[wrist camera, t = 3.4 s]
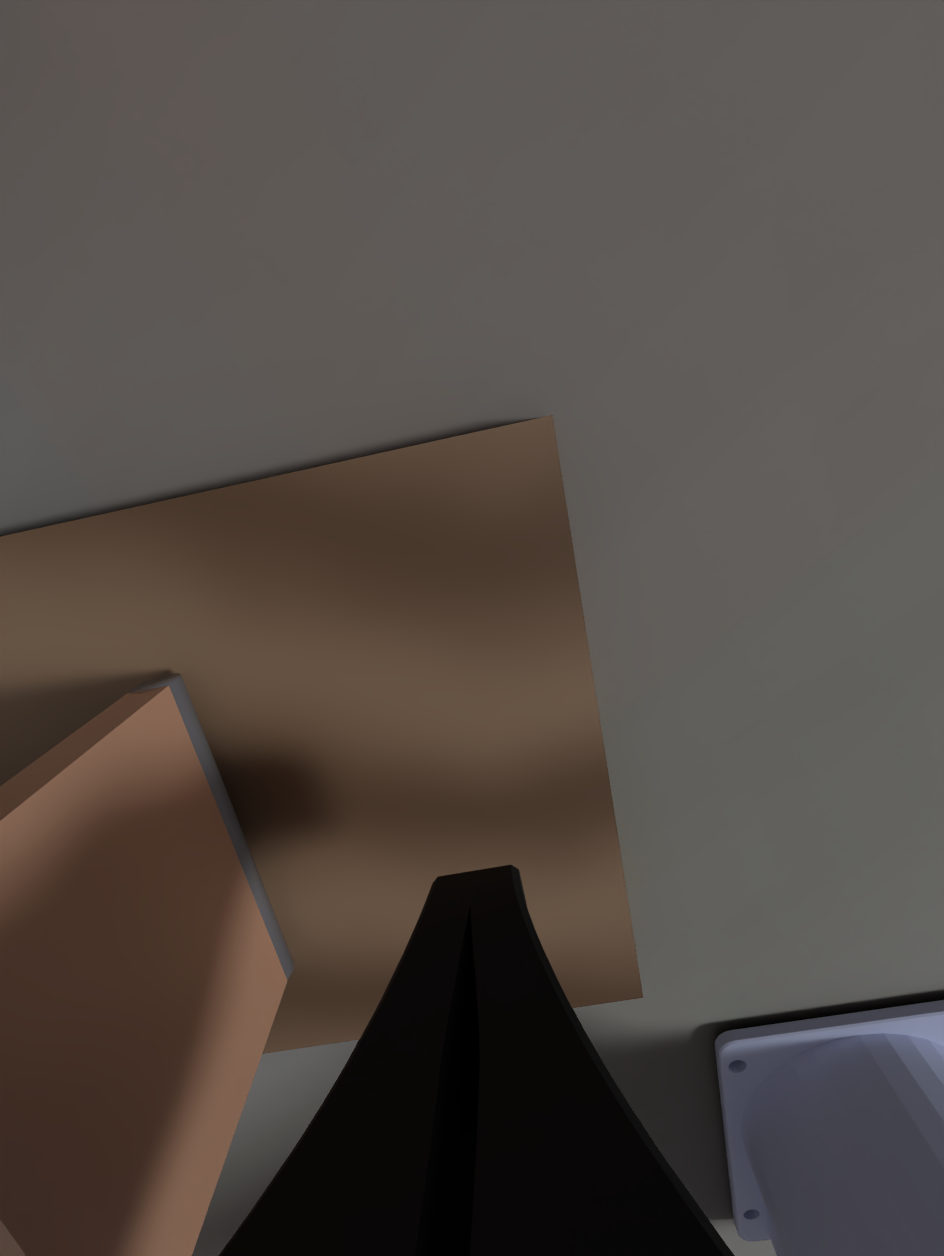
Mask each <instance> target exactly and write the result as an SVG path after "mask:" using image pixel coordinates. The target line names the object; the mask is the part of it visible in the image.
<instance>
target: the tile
mask: <svg viewBox="0 0 944 1256" xmlns="http://www.w3.org/2000/svg"><path fill="white" fill-rule="evenodd" d="M293 969H294V961H293V959H292V956H291V954H290V951H289V949H288V946H287V943H286V941H285V938H284V936H283V933H282V931H281V928H280V926H279V923H278V920H277V918H276V915H275V913H274V910H273V908H272V905H271V903H270V900H269V898H268V895H267V892H266V890H265V887H264V885H263V882H262V880H261V877H260V875H259V872H258V869H257V867H256V864H255V862H254V859H253V857H252V854H251V852H250V849H249V847H248V844H247V841H246V839H245V836H244V834H243V831H242V829H241V826H240V824H239V821H238V818H237V816H236V813H235V811H234V808H233V806H232V803H231V801H230V798H229V796H228V793H227V790H226V788H225V785H224V783H223V780H222V778H221V775H220V773H219V770H218V767H217V765H216V762H215V760H214V757H213V755H212V752H211V750H210V747H209V745H208V742H207V739H206V737H205V734H204V732H203V729H202V727H201V724H200V722H199V719H198V716H197V714H196V711H195V709H194V706H193V704H192V701H191V699H190V696H189V694H188V691H187V688H186V686H185V683H184V681H183V678H182V676H181V674H179V673H172V674H166V675H162V676H159V677H156V678H153V679H150V680H147V681H145V682H143V683H141V684H139V685H137V686H135V687H134V688H132V689H131V690H130V692H129V693H127V694H126V695H124V696H123V697H122V698H120V699H119V700H118V701H116V702H115V703H114V704H112V705H111V706H109V707H108V708H107V709H105V710H104V711H103V712H101V713H100V714H99V715H97V716H96V717H94V718H93V719H92V720H90V721H89V722H88V723H86V724H85V725H83V726H82V727H81V728H79V729H78V730H77V731H75V732H74V733H73V734H71V735H70V736H68V737H67V738H66V739H64V740H63V741H62V742H60V743H59V744H58V745H56V746H55V747H53V748H52V749H51V750H49V751H48V752H47V753H45V754H44V755H42V756H41V757H40V758H38V759H37V760H36V761H34V762H33V763H32V764H30V765H29V766H27V767H26V768H25V769H23V770H22V771H21V772H19V773H18V774H17V775H15V776H14V777H12V778H11V779H10V780H8V781H7V782H6V783H4V784H3V785H1V786H0V1256H192V1254H193V1251H194V1248H195V1245H196V1242H197V1239H198V1237H199V1234H200V1231H201V1228H202V1225H203V1222H204V1219H205V1216H206V1214H207V1211H208V1208H209V1205H210V1202H211V1199H212V1196H213V1193H214V1191H215V1188H216V1185H217V1182H218V1179H219V1176H220V1173H221V1170H222V1168H223V1165H224V1162H225V1159H226V1156H227V1153H228V1150H229V1147H230V1145H231V1142H232V1139H233V1136H234V1133H235V1130H236V1127H237V1124H238V1122H239V1119H240V1116H241V1113H242V1110H243V1107H244V1104H245V1101H246V1099H247V1096H248V1093H249V1090H250V1087H251V1084H252V1081H253V1079H254V1076H255V1073H256V1070H257V1067H258V1064H259V1061H260V1058H261V1056H262V1053H263V1050H264V1047H265V1044H266V1041H267V1038H268V1035H269V1033H270V1030H271V1027H272V1024H273V1021H274V1018H275V1015H276V1012H277V1010H278V1007H279V1004H280V1001H281V998H282V995H283V992H284V989H285V987H286V984H287V979H288V978H289V977H290V975H291V973H292V971H293Z"/></svg>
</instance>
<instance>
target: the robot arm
mask: <svg viewBox="0 0 944 1256" xmlns="http://www.w3.org/2000/svg"><path fill="white" fill-rule="evenodd" d="M715 1053H716V1062H717V1071H718V1080H719V1089H720V1098H721V1108H722V1117H723V1126H724V1135H725V1144H726V1153H727V1163H728V1172H729V1181H730V1190H731V1199H732V1208H733V1217H734V1223H735V1226H736V1229H737V1232H738V1235H739V1236H740V1237H741V1238H742V1239H744V1240H746V1241H760V1240H769V1239H771V1241H772V1243H773V1246H774V1249H775V1252H776V1254H777V1256H944V1000H939V1001H932V1002H925V1003H918V1004H911V1005H904V1006H897V1007H890V1008H883V1009H876V1010H869V1011H862V1012H855V1013H848V1014H840V1015H833V1016H826V1017H819V1018H812V1019H805V1020H798V1021H791V1022H784V1023H777V1024H770V1025H763V1026H756V1027H749V1028H742V1029H735V1030H729V1031H725V1032H723V1033H722V1034H720V1035H719V1036H718V1037H717V1039H716V1040H715ZM219 1256H734V1254H733V1253H732V1252H731V1250H730V1249H729V1248H728V1246H727V1245H726V1244H725V1242H724V1241H723V1239H722V1238H721V1237H720V1235H719V1234H718V1232H717V1231H716V1230H715V1228H714V1227H713V1225H712V1224H711V1223H710V1221H709V1220H708V1218H707V1217H706V1216H705V1214H704V1213H703V1211H702V1210H701V1209H700V1207H699V1206H698V1204H697V1203H696V1202H695V1200H694V1199H693V1197H692V1196H691V1195H690V1193H689V1192H688V1190H687V1189H686V1188H685V1186H684V1185H683V1184H682V1182H681V1181H680V1179H679V1178H678V1177H677V1175H676V1174H675V1172H674V1171H673V1170H672V1168H671V1167H670V1165H669V1164H668V1163H667V1161H666V1160H665V1158H664V1157H663V1155H662V1154H661V1153H660V1151H659V1150H658V1148H657V1147H656V1145H655V1144H654V1142H653V1141H652V1139H651V1137H650V1136H649V1134H648V1133H647V1131H646V1130H645V1128H644V1127H643V1125H642V1124H641V1122H640V1121H639V1119H638V1118H637V1116H636V1115H635V1113H634V1112H633V1110H632V1109H631V1107H630V1106H629V1104H628V1102H627V1101H626V1099H625V1098H624V1096H623V1094H622V1093H621V1091H620V1090H619V1088H618V1086H617V1085H616V1083H615V1081H614V1080H613V1078H612V1077H611V1075H610V1073H609V1072H608V1070H607V1069H606V1067H605V1065H604V1063H603V1062H602V1060H601V1058H600V1057H599V1055H598V1053H597V1052H596V1050H595V1048H594V1046H593V1045H592V1043H591V1041H590V1039H589V1038H588V1036H587V1034H586V1032H585V1031H584V1029H583V1027H582V1025H581V1023H580V1021H579V1020H578V1018H577V1016H576V1014H575V1012H574V1010H573V1009H572V1007H571V1005H570V1003H569V1001H568V999H567V997H566V995H565V993H564V991H563V989H562V987H561V985H560V983H559V981H558V979H557V977H556V975H555V973H554V971H553V968H552V966H551V964H550V962H549V960H548V958H547V956H546V953H545V951H544V949H543V947H542V945H541V942H540V940H539V938H538V935H537V933H536V930H535V928H534V925H533V922H532V920H531V917H530V914H529V911H528V908H527V904H526V899H525V895H524V890H523V885H522V881H521V876H520V872H519V869H517V868H516V867H514V866H513V865H505V866H499V867H493V868H487V869H481V870H475V871H468V872H462V873H456V874H450V875H444V876H438V877H437V878H436V879H435V881H434V882H433V883H432V886H431V888H430V891H429V894H428V896H427V899H426V901H425V904H424V906H423V909H422V911H421V914H420V916H419V919H418V921H417V923H416V926H415V928H414V930H413V933H412V935H411V937H410V939H409V942H408V944H407V946H406V948H405V951H404V953H403V955H402V957H401V959H400V961H399V963H398V965H397V967H396V969H395V972H394V974H393V976H392V978H391V980H390V982H389V984H388V986H387V988H386V990H385V992H384V994H383V996H382V998H381V1000H380V1002H379V1004H378V1006H377V1008H376V1010H375V1012H374V1014H373V1016H372V1017H371V1019H370V1021H369V1023H368V1025H367V1027H366V1028H365V1030H364V1032H363V1034H362V1036H361V1038H360V1039H359V1041H358V1043H357V1045H356V1047H355V1049H354V1051H353V1052H352V1054H351V1056H350V1058H349V1060H348V1061H347V1063H346V1065H345V1067H344V1068H343V1070H342V1072H341V1074H340V1075H339V1077H338V1079H337V1080H336V1082H335V1084H334V1085H333V1087H332V1089H331V1090H330V1092H329V1094H328V1095H327V1097H326V1099H325V1100H324V1102H323V1104H322V1105H321V1107H320V1109H319V1110H318V1112H317V1113H316V1115H315V1116H314V1118H313V1120H312V1121H311V1123H310V1124H309V1126H308V1127H307V1129H306V1131H305V1132H304V1134H303V1135H302V1137H301V1138H300V1140H299V1142H298V1143H297V1145H296V1146H295V1148H294V1149H293V1151H292V1152H291V1154H290V1155H289V1157H288V1158H287V1159H286V1161H285V1162H284V1164H283V1165H282V1167H281V1168H280V1170H279V1171H278V1173H277V1174H276V1175H275V1177H274V1178H273V1180H272V1181H271V1183H270V1184H269V1186H268V1187H267V1189H266V1190H265V1192H264V1193H263V1194H262V1196H261V1197H260V1199H259V1200H258V1202H257V1203H256V1205H255V1206H254V1208H253V1209H252V1210H251V1212H250V1213H249V1215H248V1216H247V1217H246V1219H245V1220H244V1222H243V1223H242V1224H241V1226H240V1227H239V1228H238V1230H237V1231H236V1233H235V1234H234V1235H233V1237H232V1238H231V1239H230V1241H229V1242H228V1244H227V1245H226V1246H225V1248H224V1249H223V1250H222V1252H221V1253H220V1254H219Z"/></svg>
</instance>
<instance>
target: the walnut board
mask: <svg viewBox="0 0 944 1256" xmlns="http://www.w3.org/2000/svg"><path fill="white" fill-rule="evenodd" d="M172 673H179V674H181V676H182V678H183V681H184V683H185V686H186V688H187V691H188V694H189V696H190V699H191V701H192V704H193V706H194V709H195V711H196V714H197V716H198V719H199V722H200V724H201V727H202V729H203V732H204V734H205V737H206V739H207V742H208V745H209V747H210V750H211V752H212V755H213V757H214V760H215V762H216V765H217V767H218V770H219V773H220V775H221V778H222V780H223V783H224V785H225V788H226V790H227V793H228V796H229V798H230V801H231V803H232V806H233V808H234V811H235V813H236V816H237V818H238V821H239V824H240V826H241V829H242V831H243V834H244V836H245V839H246V841H247V844H248V847H249V849H250V852H251V854H252V857H253V859H254V862H255V864H256V867H257V869H258V872H259V875H260V877H261V880H262V882H263V885H264V887H265V890H266V892H267V895H268V898H269V900H270V903H271V905H272V908H273V910H274V913H275V915H276V918H277V920H278V923H279V926H280V928H281V931H282V933H283V936H284V938H285V941H286V943H287V946H288V949H289V951H290V954H291V956H292V959H293V961H294V969H293V971H292V973H291V975H290V977H289V978H288V979H287V984H286V987H285V989H284V992H283V995H282V998H281V1001H280V1004H279V1007H278V1010H277V1012H276V1015H275V1018H274V1021H273V1024H272V1027H271V1030H270V1033H269V1035H268V1038H267V1041H266V1044H265V1047H264V1050H263V1053H262V1054H264V1053H270V1052H277V1051H284V1050H291V1049H297V1048H304V1047H311V1046H318V1045H325V1044H331V1043H338V1042H345V1041H352V1040H359V1039H360V1038H361V1036H362V1034H363V1032H364V1030H365V1028H366V1027H367V1025H368V1023H369V1021H370V1019H371V1017H372V1016H373V1014H374V1012H375V1010H376V1008H377V1006H378V1004H379V1002H380V1000H381V998H382V996H383V994H384V992H385V990H386V988H387V986H388V984H389V982H390V980H391V978H392V976H393V974H394V972H395V969H396V967H397V965H398V963H399V961H400V959H401V957H402V955H403V953H404V951H405V948H406V946H407V944H408V942H409V939H410V937H411V935H412V933H413V930H414V928H415V926H416V923H417V921H418V919H419V916H420V914H421V911H422V909H423V906H424V904H425V901H426V899H427V896H428V894H429V891H430V888H431V886H432V883H433V882H434V881H435V879H436V878H437V877H438V876H444V875H450V874H456V873H462V872H468V871H475V870H481V869H487V868H493V867H499V866H505V865H513V866H514V867H516V868H517V869H519V872H520V876H521V881H522V885H523V890H524V895H525V899H526V904H527V908H528V911H529V914H530V917H531V920H532V922H533V925H534V928H535V930H536V933H537V935H538V938H539V940H540V942H541V945H542V947H543V949H544V951H545V953H546V956H547V958H548V960H549V962H550V964H551V966H552V968H553V971H554V973H555V975H556V977H557V979H558V981H559V983H560V985H561V987H562V989H563V991H564V993H565V995H566V997H567V999H568V1001H569V1003H570V1005H571V1007H572V1008H576V1007H583V1006H589V1005H596V1004H603V1003H610V1002H617V1001H623V1000H630V999H637V998H643V994H642V987H641V981H640V974H639V968H638V962H637V955H636V949H635V942H634V936H633V930H632V923H631V917H630V910H629V904H628V898H627V891H626V885H625V878H624V872H623V865H622V859H621V853H620V846H619V840H618V833H617V827H616V821H615V814H614V808H613V801H612V795H611V789H610V782H609V776H608V769H607V763H606V756H605V750H604V744H603V737H602V731H601V724H600V718H599V712H598V705H597V699H596V692H595V686H594V680H593V673H592V667H591V660H590V654H589V648H588V641H587V635H586V628H585V622H584V615H583V609H582V603H581V596H580V590H579V583H578V577H577V571H576V564H575V558H574V551H573V545H572V539H571V532H570V526H569V519H568V513H567V506H566V500H565V494H564V487H563V481H562V474H561V468H560V462H559V455H558V449H557V442H556V436H555V430H554V423H553V417H552V415H550V416H546V417H541V418H537V419H532V420H528V421H523V422H519V423H514V424H510V425H505V426H500V427H496V428H491V429H487V430H482V431H478V432H473V433H469V434H464V435H460V436H455V437H450V438H446V439H441V440H437V441H432V442H428V443H423V444H419V445H414V446H410V447H405V448H401V449H396V450H391V451H387V452H382V453H378V454H373V455H369V456H364V457H360V458H355V459H351V460H346V461H341V462H337V463H332V464H328V465H323V466H319V467H314V468H310V469H305V470H301V471H296V472H292V473H287V474H282V475H278V476H273V477H269V478H264V479H260V480H255V481H251V482H246V483H242V484H237V485H232V486H228V487H223V488H219V489H214V490H210V491H205V492H201V493H196V494H192V495H187V496H182V497H178V498H173V499H169V500H164V501H160V502H155V503H151V504H146V505H142V506H137V507H133V508H128V509H123V510H119V511H114V512H110V513H105V514H101V515H96V516H92V517H87V518H83V519H78V520H73V521H69V522H64V523H60V524H55V525H51V526H46V527H42V528H37V529H33V530H28V531H24V532H19V533H14V534H10V535H5V536H1V537H0V786H1V785H3V784H4V783H6V782H7V781H8V780H10V779H11V778H12V777H14V776H15V775H17V774H18V773H19V772H21V771H22V770H23V769H25V768H26V767H27V766H29V765H30V764H32V763H33V762H34V761H36V760H37V759H38V758H40V757H41V756H42V755H44V754H45V753H47V752H48V751H49V750H51V749H52V748H53V747H55V746H56V745H58V744H59V743H60V742H62V741H63V740H64V739H66V738H67V737H68V736H70V735H71V734H73V733H74V732H75V731H77V730H78V729H79V728H81V727H82V726H83V725H85V724H86V723H88V722H89V721H90V720H92V719H93V718H94V717H96V716H97V715H99V714H100V713H101V712H103V711H104V710H105V709H107V708H108V707H109V706H111V705H112V704H114V703H115V702H116V701H118V700H119V699H120V698H122V697H123V696H124V695H126V694H127V693H129V692H130V690H131V689H132V688H134V687H135V686H137V685H139V684H141V683H143V682H145V681H147V680H150V679H153V678H156V677H159V676H162V675H166V674H172Z"/></svg>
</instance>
